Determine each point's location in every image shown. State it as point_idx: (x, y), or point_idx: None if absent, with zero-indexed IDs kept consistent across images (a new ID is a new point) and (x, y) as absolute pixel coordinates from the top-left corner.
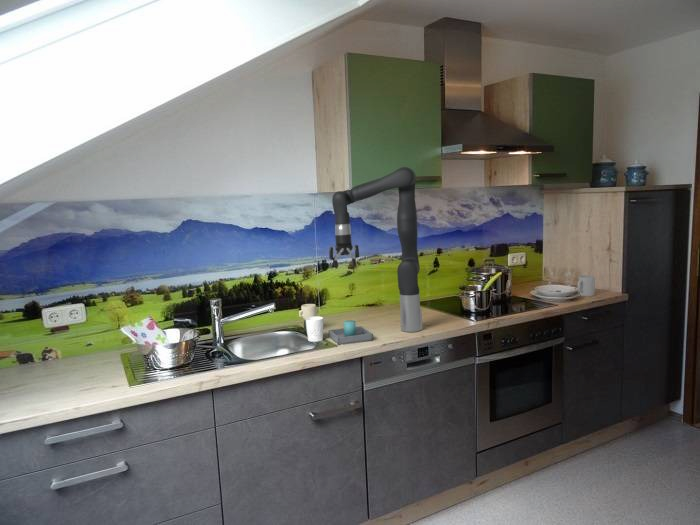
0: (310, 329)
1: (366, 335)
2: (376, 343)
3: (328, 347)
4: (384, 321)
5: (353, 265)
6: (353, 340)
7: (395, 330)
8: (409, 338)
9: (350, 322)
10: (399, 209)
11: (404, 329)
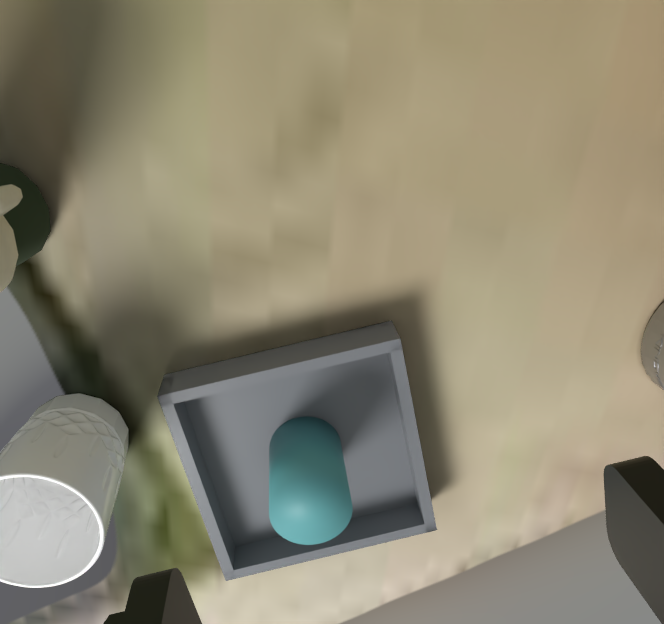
0: (30, 530)
1: (396, 535)
2: (433, 553)
3: None
4: (626, 23)
5: (631, 577)
6: None
7: (609, 324)
8: None
9: (316, 529)
10: None
11: (655, 381)
